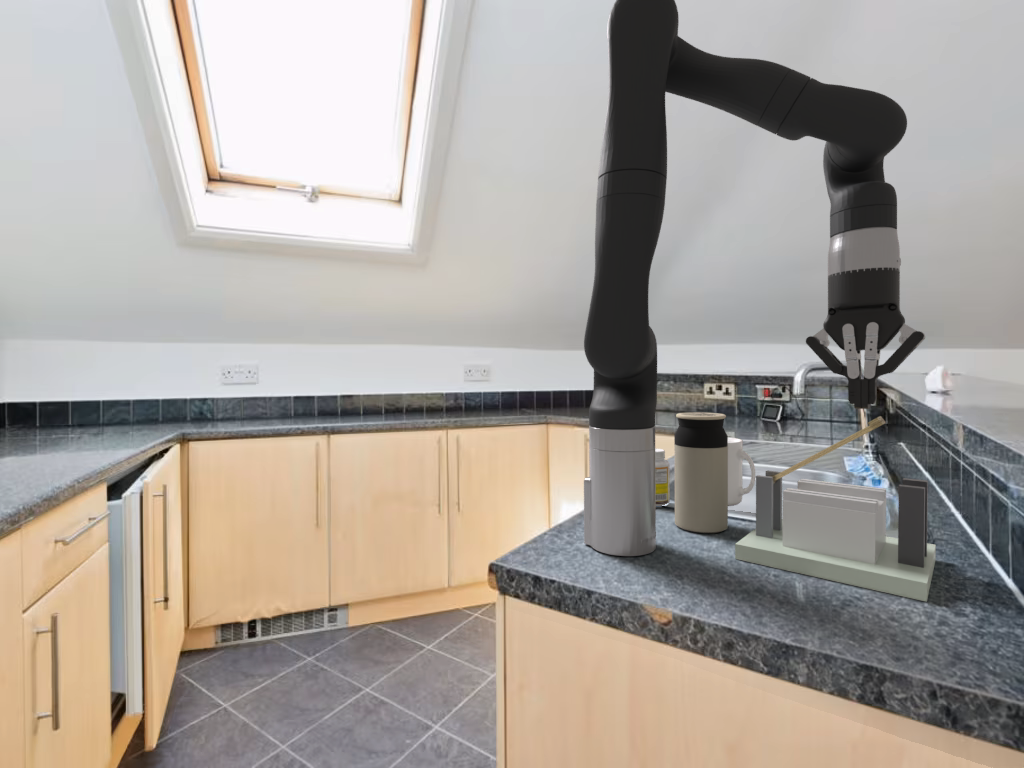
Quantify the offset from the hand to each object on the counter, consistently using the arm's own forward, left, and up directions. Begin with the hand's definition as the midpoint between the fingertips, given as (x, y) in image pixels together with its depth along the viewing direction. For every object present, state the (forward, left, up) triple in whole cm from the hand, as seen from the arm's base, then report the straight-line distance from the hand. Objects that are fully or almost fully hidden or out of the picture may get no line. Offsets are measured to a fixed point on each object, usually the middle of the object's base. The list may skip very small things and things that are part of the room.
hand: (862, 408), depth 66 cm
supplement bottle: (-34, +11, -20) cm, 41 cm away
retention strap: (-4, 0, -7) cm, 8 cm away
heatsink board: (-3, 0, -20) cm, 20 cm away
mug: (-25, +21, -20) cm, 39 cm away
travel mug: (-22, +3, -20) cm, 30 cm away
